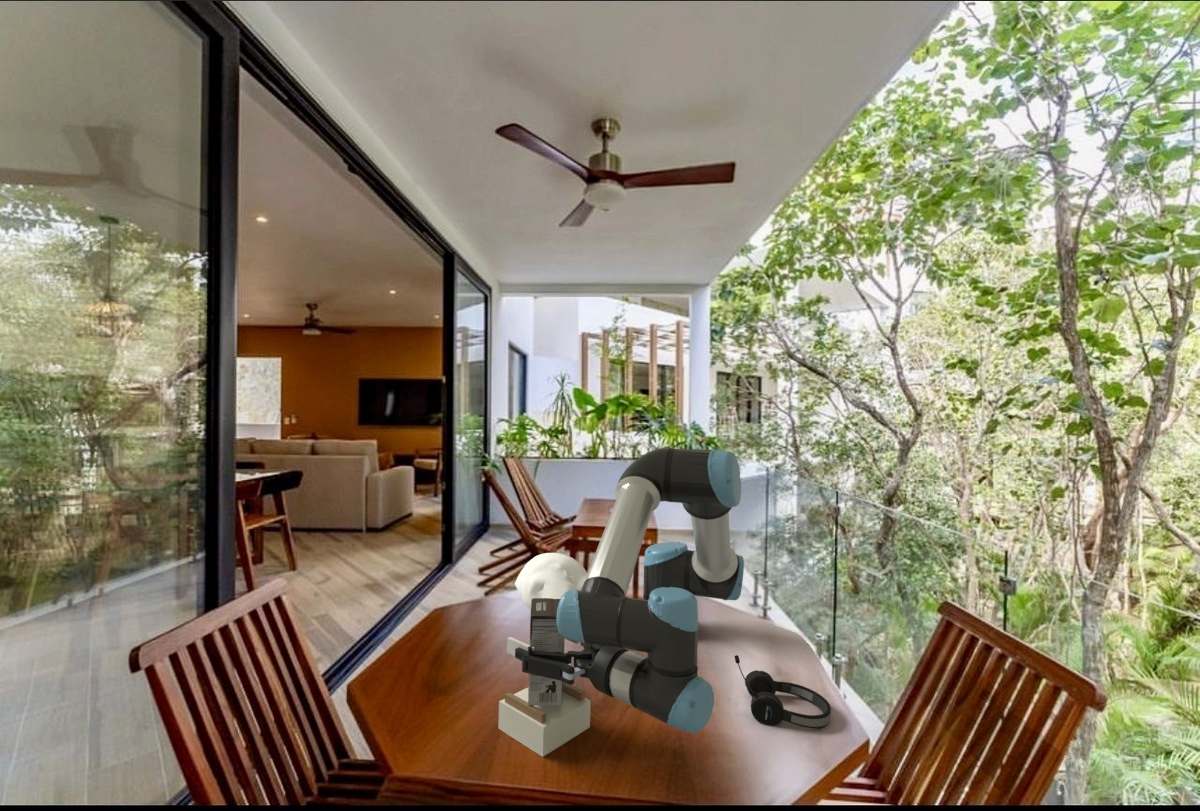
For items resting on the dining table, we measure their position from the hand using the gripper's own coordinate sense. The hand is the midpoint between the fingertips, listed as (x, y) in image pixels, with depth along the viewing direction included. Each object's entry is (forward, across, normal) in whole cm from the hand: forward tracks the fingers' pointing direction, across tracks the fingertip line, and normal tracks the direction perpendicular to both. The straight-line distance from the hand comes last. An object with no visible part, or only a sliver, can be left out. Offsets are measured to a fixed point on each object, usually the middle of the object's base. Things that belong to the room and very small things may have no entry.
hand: (532, 635), depth 103 cm
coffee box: (-4, 0, -10) cm, 10 cm away
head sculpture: (+33, +40, -16) cm, 54 cm away
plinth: (-4, 0, -16) cm, 16 cm away
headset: (-34, +37, -16) cm, 53 cm away
